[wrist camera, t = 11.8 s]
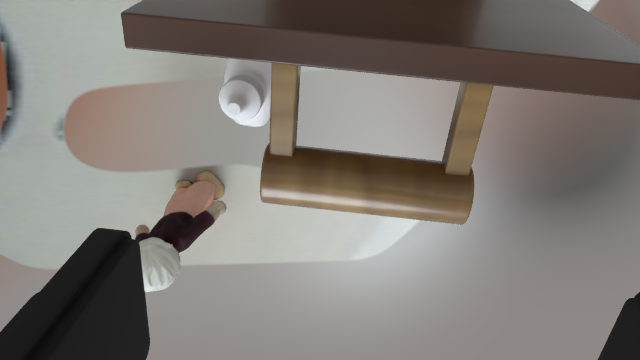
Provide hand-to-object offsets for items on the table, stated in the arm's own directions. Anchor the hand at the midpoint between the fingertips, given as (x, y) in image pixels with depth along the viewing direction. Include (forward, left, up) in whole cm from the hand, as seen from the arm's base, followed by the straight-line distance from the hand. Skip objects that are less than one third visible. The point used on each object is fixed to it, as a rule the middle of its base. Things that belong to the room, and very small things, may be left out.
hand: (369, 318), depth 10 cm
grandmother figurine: (+14, -12, -30) cm, 35 cm away
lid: (-5, 0, -12) cm, 13 cm away
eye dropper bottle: (+2, -7, -30) cm, 30 cm away
